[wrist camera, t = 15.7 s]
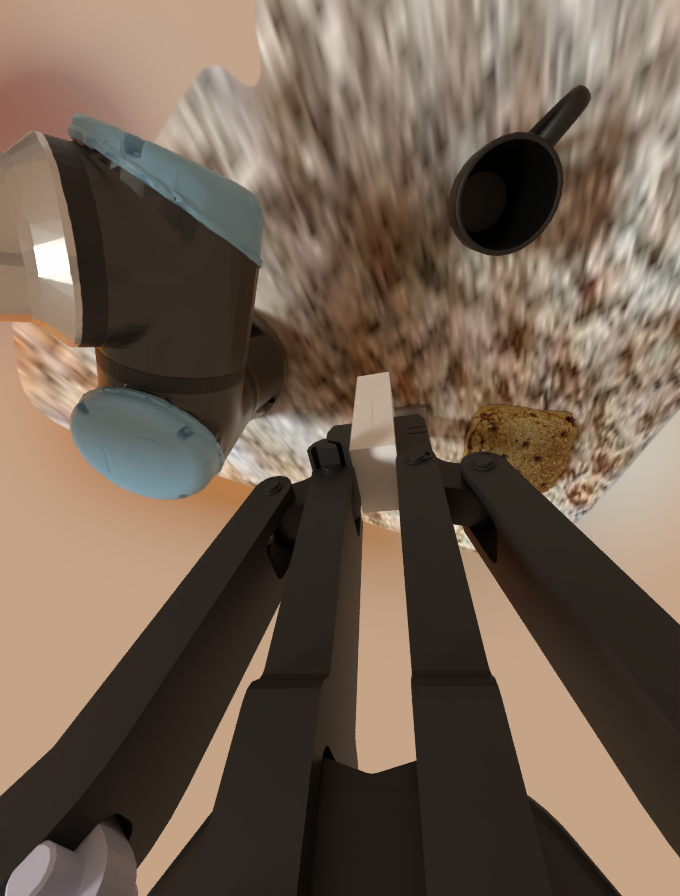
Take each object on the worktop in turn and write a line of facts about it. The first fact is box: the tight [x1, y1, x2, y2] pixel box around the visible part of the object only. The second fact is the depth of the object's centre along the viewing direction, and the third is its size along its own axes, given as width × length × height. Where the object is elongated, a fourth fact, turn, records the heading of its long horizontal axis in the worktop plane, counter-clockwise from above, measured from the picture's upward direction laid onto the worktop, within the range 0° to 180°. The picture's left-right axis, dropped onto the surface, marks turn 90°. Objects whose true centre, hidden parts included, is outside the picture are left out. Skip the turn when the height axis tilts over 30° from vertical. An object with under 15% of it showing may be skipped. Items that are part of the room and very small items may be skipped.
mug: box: [448, 85, 591, 256], centre depth 32 cm, size 8×12×10 cm
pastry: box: [463, 405, 577, 493], centre depth 51 cm, size 17×17×3 cm
